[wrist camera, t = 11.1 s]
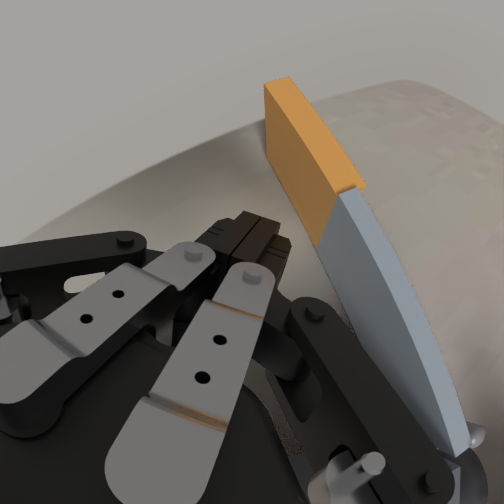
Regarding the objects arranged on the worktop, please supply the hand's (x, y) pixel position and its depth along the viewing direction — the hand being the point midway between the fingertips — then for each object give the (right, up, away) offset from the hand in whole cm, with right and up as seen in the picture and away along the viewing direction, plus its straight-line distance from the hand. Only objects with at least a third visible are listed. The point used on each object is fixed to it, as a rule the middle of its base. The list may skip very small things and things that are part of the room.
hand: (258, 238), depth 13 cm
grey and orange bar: (+5, -2, +5) cm, 8 cm away
